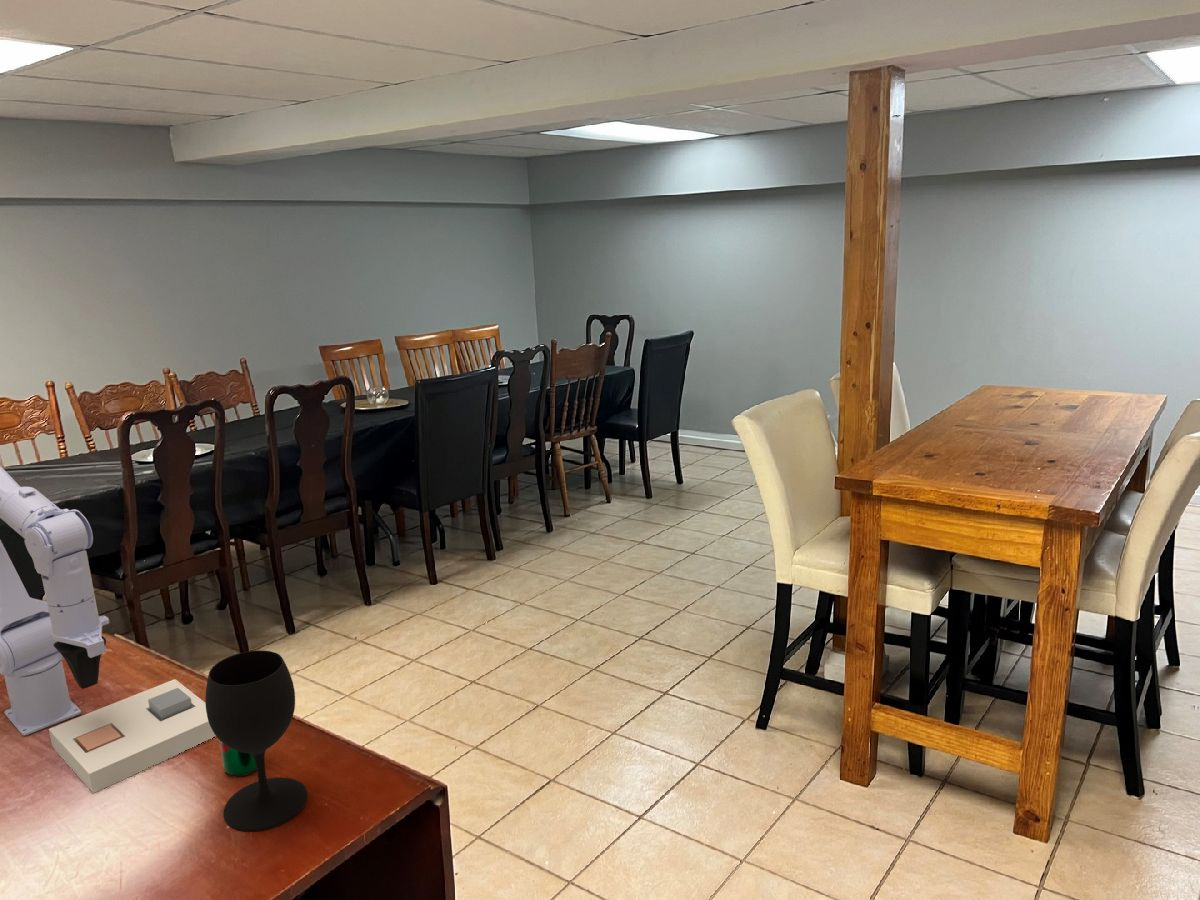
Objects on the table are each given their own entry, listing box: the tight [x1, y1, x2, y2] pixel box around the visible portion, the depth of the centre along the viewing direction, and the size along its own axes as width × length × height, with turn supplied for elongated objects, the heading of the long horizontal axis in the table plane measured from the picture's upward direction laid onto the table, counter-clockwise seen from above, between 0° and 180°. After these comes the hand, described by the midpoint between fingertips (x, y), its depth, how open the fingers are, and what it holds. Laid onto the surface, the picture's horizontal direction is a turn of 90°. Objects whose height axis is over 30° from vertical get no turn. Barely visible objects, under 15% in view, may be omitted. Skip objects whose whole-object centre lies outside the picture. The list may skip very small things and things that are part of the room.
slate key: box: [148, 688, 192, 721], centre depth 131 cm, size 4×4×2 cm
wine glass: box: [204, 649, 308, 833], centre depth 111 cm, size 10×10×20 cm
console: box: [48, 678, 216, 794], centre depth 128 cm, size 16×18×3 cm
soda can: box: [218, 739, 257, 777], centre depth 120 cm, size 5×5×12 cm
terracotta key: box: [77, 725, 122, 753], centre depth 124 cm, size 4×4×2 cm
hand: (88, 684), depth 125 cm, fingers closed
